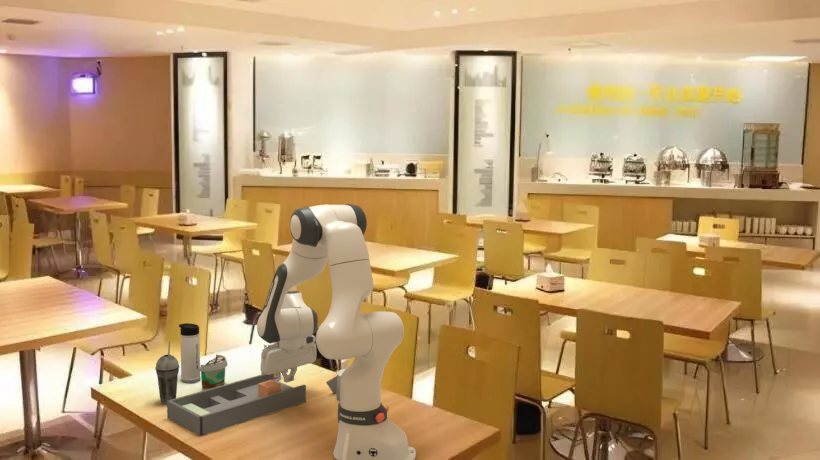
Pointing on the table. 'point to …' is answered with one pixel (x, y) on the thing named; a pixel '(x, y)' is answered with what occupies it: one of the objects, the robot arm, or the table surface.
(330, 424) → the table surface
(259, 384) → the terracotta block
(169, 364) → the beverage cup
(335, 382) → the toilet tissue
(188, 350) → the travel mug
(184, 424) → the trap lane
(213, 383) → the food container
